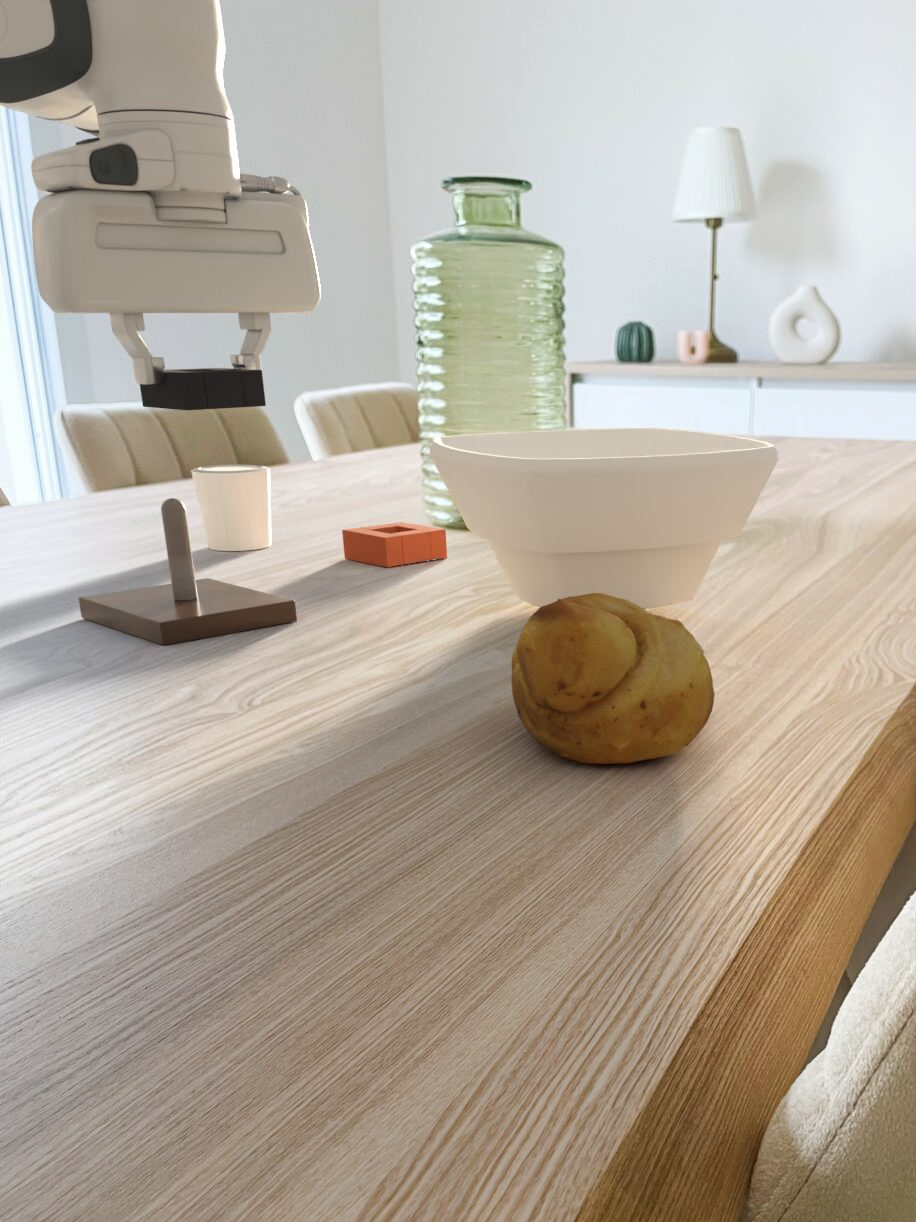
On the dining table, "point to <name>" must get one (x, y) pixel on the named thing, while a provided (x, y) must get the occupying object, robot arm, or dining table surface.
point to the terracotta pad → (394, 544)
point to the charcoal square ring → (206, 389)
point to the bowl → (604, 506)
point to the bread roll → (609, 681)
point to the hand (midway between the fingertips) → (200, 382)
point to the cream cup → (234, 506)
